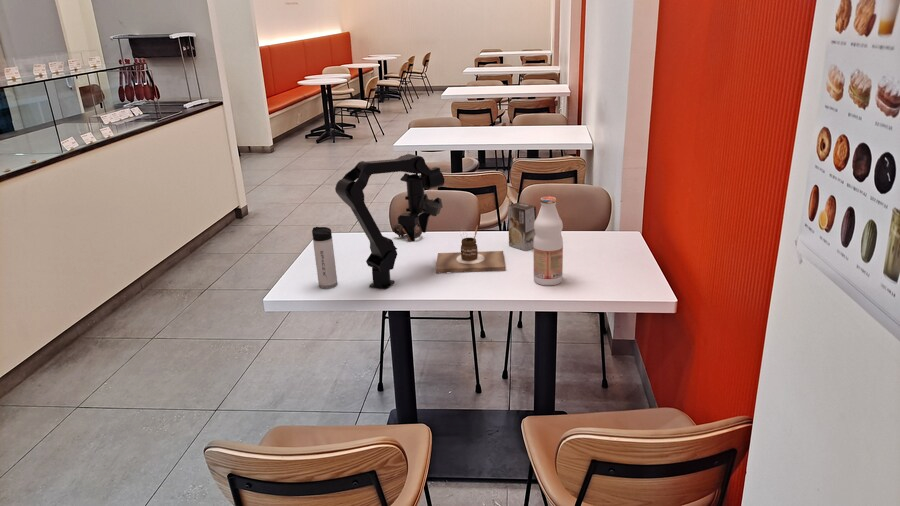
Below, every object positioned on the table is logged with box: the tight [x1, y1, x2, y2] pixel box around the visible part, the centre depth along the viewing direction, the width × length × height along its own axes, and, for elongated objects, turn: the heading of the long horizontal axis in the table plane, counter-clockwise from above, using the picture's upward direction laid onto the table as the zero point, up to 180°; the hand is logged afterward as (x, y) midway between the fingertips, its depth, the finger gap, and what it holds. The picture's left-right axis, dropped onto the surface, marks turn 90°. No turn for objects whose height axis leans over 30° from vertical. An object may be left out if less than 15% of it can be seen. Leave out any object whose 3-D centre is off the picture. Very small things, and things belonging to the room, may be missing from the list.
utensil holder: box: [460, 225, 479, 261], centre depth 224 cm, size 6×6×12 cm
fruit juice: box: [533, 196, 564, 286], centre depth 204 cm, size 9×9×28 cm
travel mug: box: [311, 226, 338, 289], centre depth 211 cm, size 6×7×20 cm
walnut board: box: [435, 250, 506, 274], centre depth 226 cm, size 24×16×2 cm, turn 88°
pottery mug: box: [392, 224, 423, 242], centre depth 255 cm, size 12×10×8 cm
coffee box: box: [507, 201, 537, 252], centre depth 238 cm, size 9×6×16 cm
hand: (418, 236), depth 217 cm, fingers open, 9 cm apart
